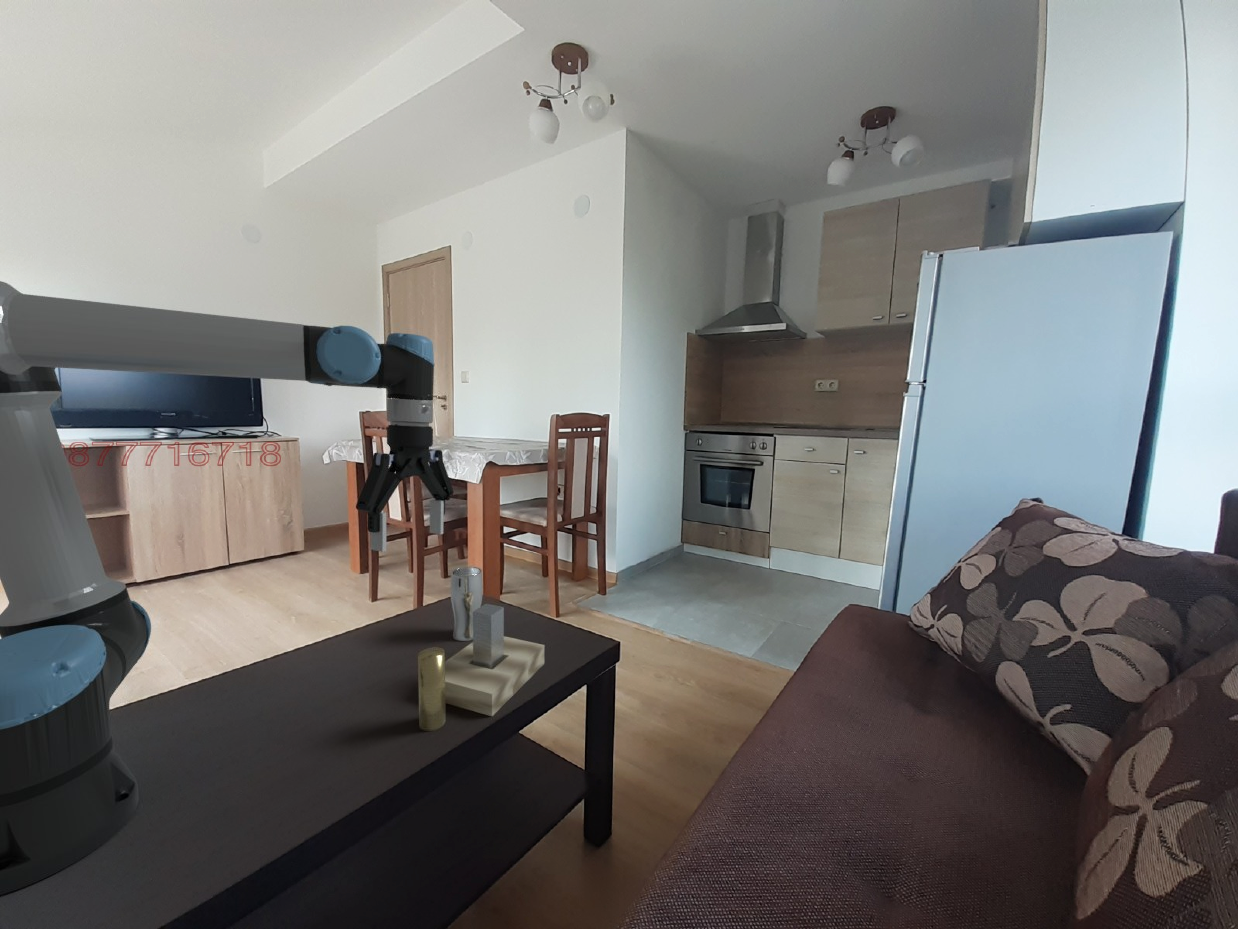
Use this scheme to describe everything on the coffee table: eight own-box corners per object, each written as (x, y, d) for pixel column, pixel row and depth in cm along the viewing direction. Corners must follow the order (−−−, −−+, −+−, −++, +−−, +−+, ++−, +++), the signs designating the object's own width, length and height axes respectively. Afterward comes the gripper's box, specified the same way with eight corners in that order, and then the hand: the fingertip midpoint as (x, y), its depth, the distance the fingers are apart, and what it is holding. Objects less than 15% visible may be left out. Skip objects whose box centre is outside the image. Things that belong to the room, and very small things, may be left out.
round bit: (433, 733, 74) (432, 662, 73) (413, 727, 76) (412, 656, 74) (450, 718, 78) (450, 650, 77) (431, 712, 80) (430, 645, 78)
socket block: (492, 716, 79) (492, 694, 79) (425, 697, 84) (424, 676, 83) (544, 663, 96) (544, 645, 95) (486, 650, 101) (486, 632, 100)
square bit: (491, 687, 87) (491, 615, 86) (473, 682, 89) (472, 611, 87) (503, 676, 91) (503, 607, 89) (486, 672, 92) (485, 603, 91)
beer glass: (449, 631, 109) (448, 568, 107) (480, 626, 112) (480, 564, 110) (452, 644, 102) (451, 578, 101) (485, 639, 105) (485, 574, 104)
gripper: (365, 425, 71) (366, 562, 73) (473, 425, 94) (471, 529, 96) (329, 422, 73) (331, 555, 75) (443, 423, 96) (441, 525, 99)
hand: (409, 541), depth 86 cm, fingers open, 13 cm apart
